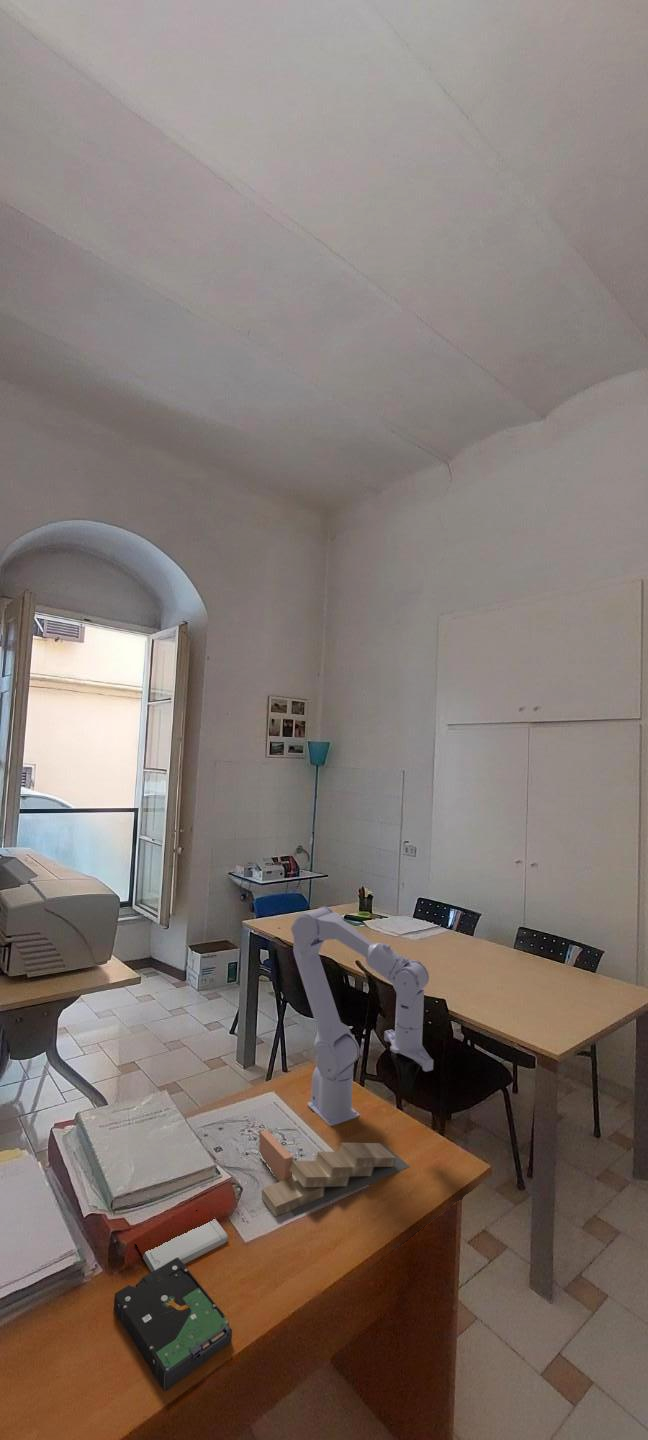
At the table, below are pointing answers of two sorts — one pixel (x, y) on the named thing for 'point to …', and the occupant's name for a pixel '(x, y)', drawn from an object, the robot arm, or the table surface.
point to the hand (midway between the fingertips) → (405, 1090)
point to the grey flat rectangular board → (353, 1184)
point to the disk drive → (172, 1322)
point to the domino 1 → (275, 1155)
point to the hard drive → (187, 1245)
